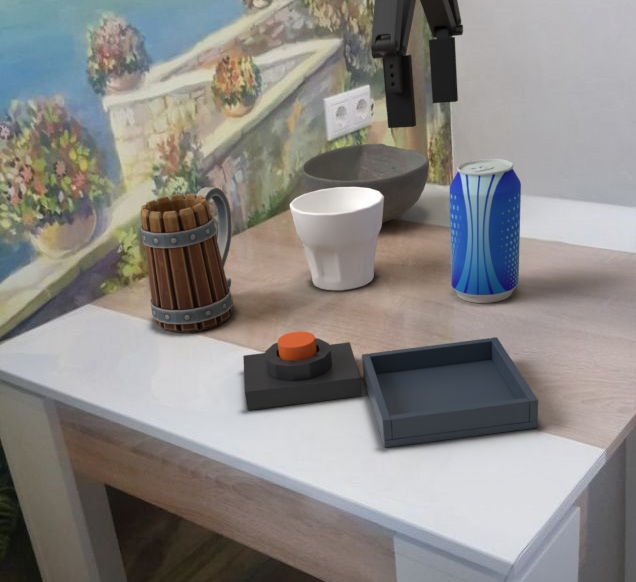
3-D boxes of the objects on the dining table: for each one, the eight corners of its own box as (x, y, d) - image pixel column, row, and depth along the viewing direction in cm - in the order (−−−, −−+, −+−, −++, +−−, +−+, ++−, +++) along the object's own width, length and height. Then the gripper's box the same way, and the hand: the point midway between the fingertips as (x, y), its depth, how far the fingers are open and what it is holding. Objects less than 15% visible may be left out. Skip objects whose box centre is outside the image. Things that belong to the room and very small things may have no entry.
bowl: (286, 239, 139) (278, 175, 134) (334, 201, 155) (329, 142, 149) (408, 244, 131) (405, 176, 126) (445, 203, 147) (444, 142, 142)
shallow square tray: (496, 362, 95) (497, 336, 94) (537, 428, 83) (538, 400, 81) (363, 379, 95) (361, 354, 94) (384, 447, 83) (382, 420, 81)
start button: (315, 343, 95) (313, 329, 94) (318, 359, 92) (316, 344, 91) (278, 348, 95) (276, 333, 94) (280, 364, 92) (278, 349, 91)
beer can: (458, 279, 117) (457, 157, 109) (522, 281, 114) (526, 156, 106) (445, 304, 110) (442, 175, 102) (512, 307, 108) (515, 175, 99)
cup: (367, 257, 128) (362, 181, 122) (403, 284, 118) (399, 201, 112) (286, 275, 125) (277, 197, 119) (316, 303, 115) (307, 220, 109)
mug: (203, 338, 108) (182, 218, 101) (137, 328, 113) (112, 213, 106) (269, 292, 120) (255, 181, 112) (207, 285, 125) (188, 178, 117)
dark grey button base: (351, 359, 99) (348, 327, 97) (361, 396, 92) (359, 361, 90) (246, 372, 99) (240, 340, 97) (247, 410, 91) (242, 376, 89)
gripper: (417, -115, 94) (430, 95, 104) (317, -117, 75) (345, 140, 85) (485, -127, 91) (492, 90, 101) (399, -133, 72) (418, 137, 82)
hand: (424, 114), depth 93 cm, fingers open, 13 cm apart
